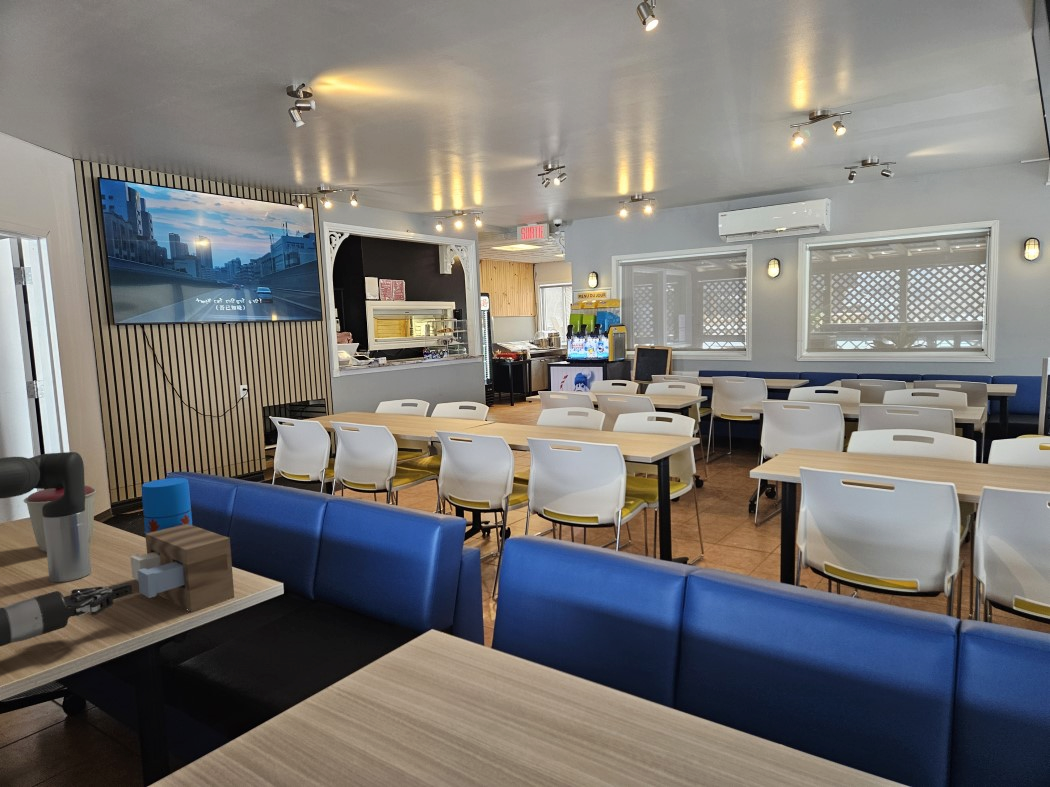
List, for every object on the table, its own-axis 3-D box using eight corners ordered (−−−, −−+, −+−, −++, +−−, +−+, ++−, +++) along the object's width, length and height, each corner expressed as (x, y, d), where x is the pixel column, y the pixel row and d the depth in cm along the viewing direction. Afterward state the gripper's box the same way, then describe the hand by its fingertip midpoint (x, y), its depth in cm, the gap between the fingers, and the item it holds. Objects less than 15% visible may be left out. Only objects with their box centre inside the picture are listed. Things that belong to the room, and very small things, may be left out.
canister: (26, 548, 199) (18, 480, 197) (95, 534, 211) (89, 470, 209) (33, 562, 186) (25, 489, 184) (107, 546, 198) (100, 478, 196)
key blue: (139, 592, 145) (137, 570, 145) (192, 576, 154) (190, 555, 154) (149, 598, 142) (147, 574, 142) (202, 581, 151) (200, 559, 150)
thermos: (176, 584, 164) (167, 487, 162) (139, 582, 166) (130, 487, 164) (205, 569, 175) (197, 477, 172) (170, 567, 177) (162, 477, 175)
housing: (150, 590, 161) (145, 533, 159) (191, 578, 168) (187, 523, 167) (191, 612, 147) (186, 549, 146) (234, 597, 155) (229, 537, 153)
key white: (132, 577, 155) (130, 556, 155) (182, 563, 164) (180, 543, 164) (141, 582, 152) (139, 560, 151) (191, 567, 161) (189, 546, 160)
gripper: (42, 606, 124) (141, 577, 137) (22, 591, 132) (117, 565, 145) (47, 644, 124) (144, 612, 138) (26, 626, 133) (120, 597, 146)
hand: (130, 588), depth 141 cm, fingers closed
